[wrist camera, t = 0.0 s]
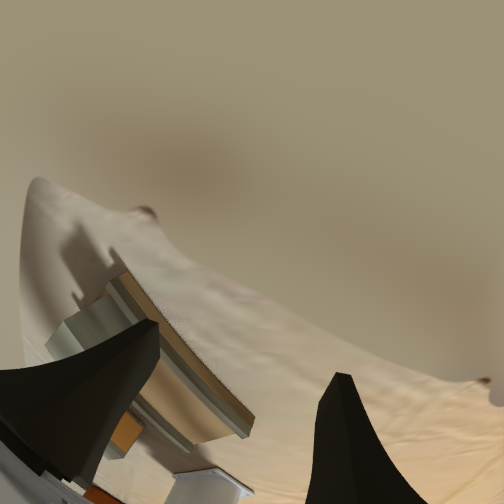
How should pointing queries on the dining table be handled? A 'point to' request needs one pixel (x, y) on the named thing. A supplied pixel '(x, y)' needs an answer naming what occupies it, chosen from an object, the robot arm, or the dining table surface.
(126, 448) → the block
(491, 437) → the dining table surface
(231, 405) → the jaw track
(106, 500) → the bread
